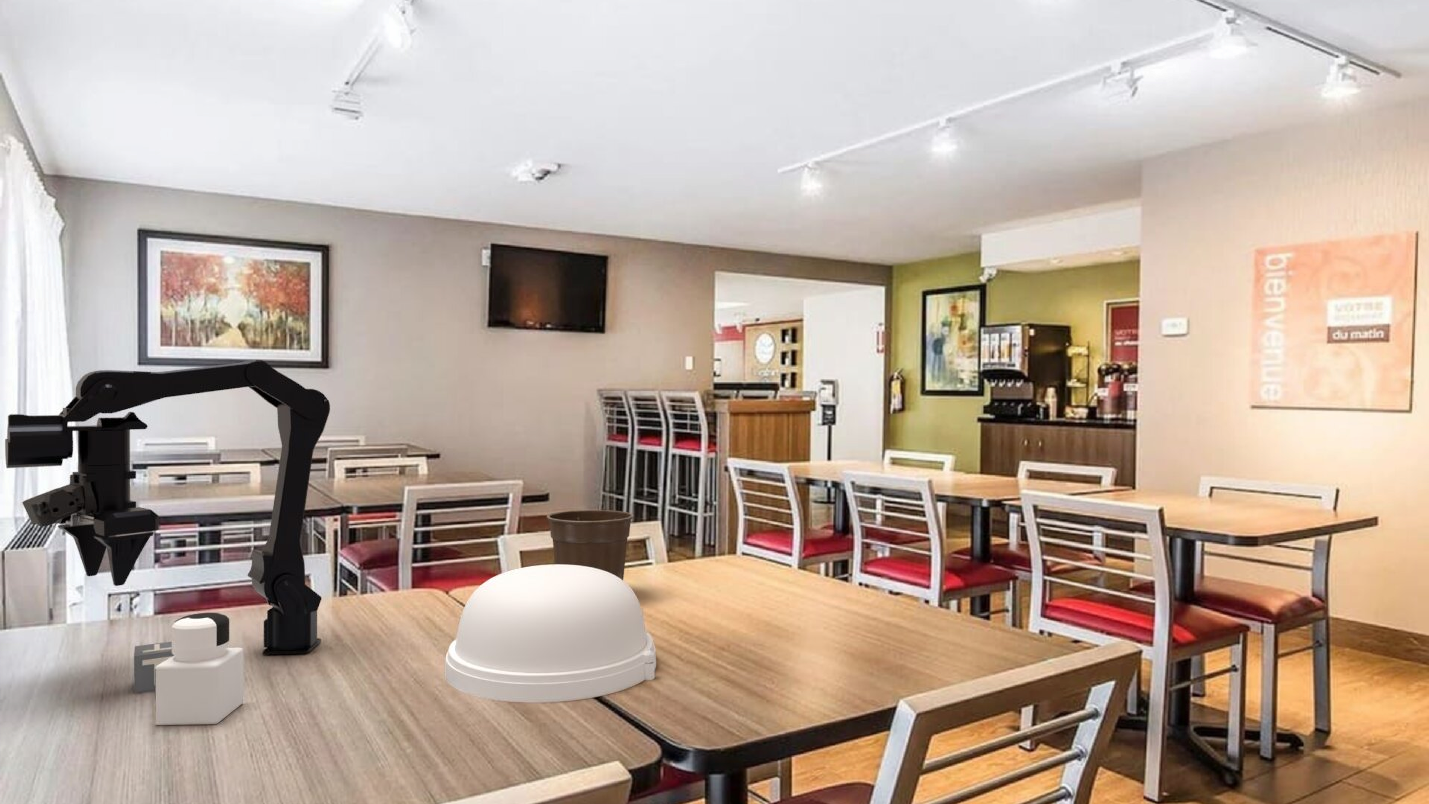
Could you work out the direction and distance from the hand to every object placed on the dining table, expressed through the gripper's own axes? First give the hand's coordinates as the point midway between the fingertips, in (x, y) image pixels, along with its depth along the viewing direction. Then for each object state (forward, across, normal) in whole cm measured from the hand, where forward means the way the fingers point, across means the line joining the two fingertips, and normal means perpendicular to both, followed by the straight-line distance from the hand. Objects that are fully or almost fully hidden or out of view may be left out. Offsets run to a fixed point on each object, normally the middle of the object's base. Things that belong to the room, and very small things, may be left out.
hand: (105, 580), depth 117 cm
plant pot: (+14, +18, +73) cm, 77 cm away
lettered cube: (+14, +6, +4) cm, 16 cm away
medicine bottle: (+14, +22, +2) cm, 26 cm away
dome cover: (+14, +42, +42) cm, 61 cm away
